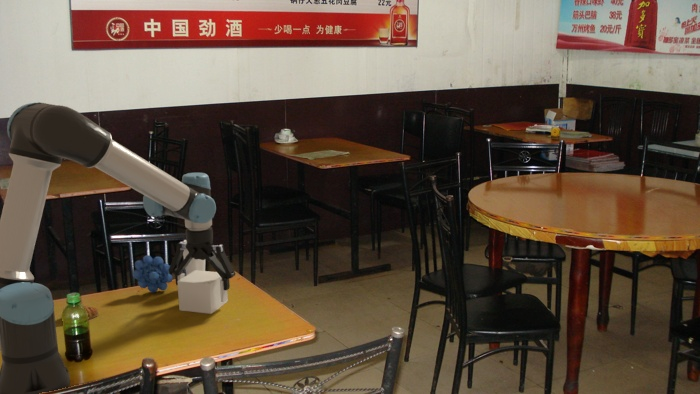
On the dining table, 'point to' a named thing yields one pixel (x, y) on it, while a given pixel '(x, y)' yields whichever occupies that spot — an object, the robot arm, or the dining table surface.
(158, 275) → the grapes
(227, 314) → the dining table surface
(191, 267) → the drinking glass
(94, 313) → the pastry
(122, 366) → the dining table surface
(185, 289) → the matte cream cube
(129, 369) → the dining table surface
